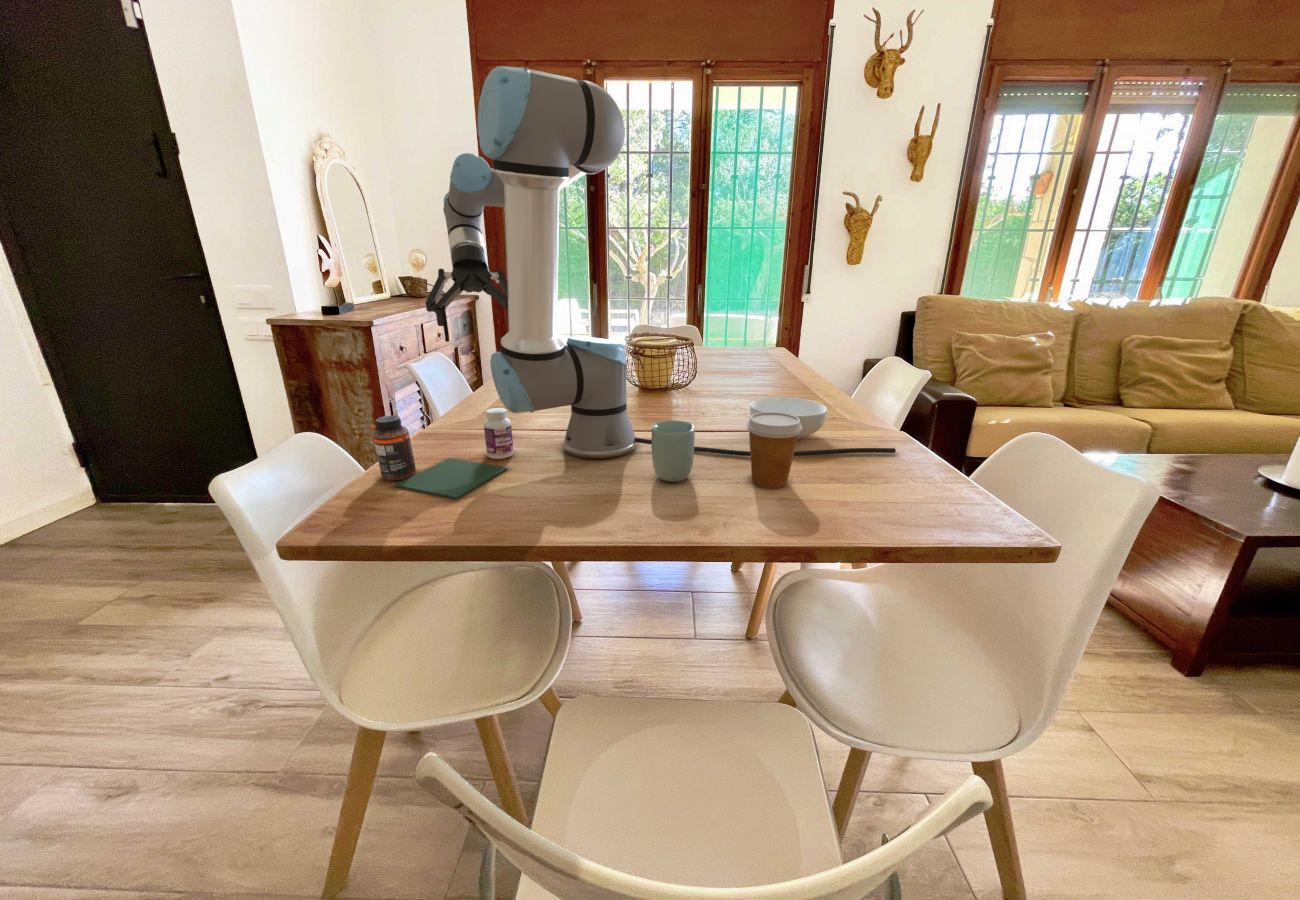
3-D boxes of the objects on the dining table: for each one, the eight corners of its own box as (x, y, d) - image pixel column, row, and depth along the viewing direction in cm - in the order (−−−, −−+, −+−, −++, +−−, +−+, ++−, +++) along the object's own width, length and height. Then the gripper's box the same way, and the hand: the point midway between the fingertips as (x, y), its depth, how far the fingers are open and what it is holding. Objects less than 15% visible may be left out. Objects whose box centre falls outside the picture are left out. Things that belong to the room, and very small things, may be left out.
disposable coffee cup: (798, 474, 97) (804, 413, 93) (794, 495, 89) (801, 429, 84) (747, 468, 100) (751, 409, 96) (738, 488, 91) (742, 423, 87)
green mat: (507, 469, 100) (507, 467, 99) (456, 499, 87) (456, 497, 87) (449, 459, 104) (449, 457, 104) (394, 486, 92) (394, 484, 92)
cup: (693, 470, 99) (695, 420, 96) (692, 487, 92) (694, 434, 88) (653, 469, 100) (653, 419, 96) (649, 485, 93) (649, 432, 89)
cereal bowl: (832, 431, 121) (835, 402, 119) (811, 452, 108) (815, 420, 106) (763, 419, 130) (765, 392, 127) (736, 438, 117) (738, 408, 114)
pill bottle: (499, 461, 103) (494, 415, 100) (481, 456, 106) (476, 411, 103) (519, 453, 108) (515, 409, 104) (501, 448, 110) (496, 405, 107)
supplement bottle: (409, 467, 101) (399, 411, 97) (421, 475, 97) (411, 418, 93) (377, 475, 97) (365, 418, 93) (388, 485, 93) (376, 425, 89)
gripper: (522, 266, 124) (537, 343, 118) (409, 264, 115) (419, 348, 109) (526, 244, 117) (541, 326, 112) (405, 241, 108) (415, 329, 102)
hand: (481, 337), depth 110 cm, fingers open, 13 cm apart
